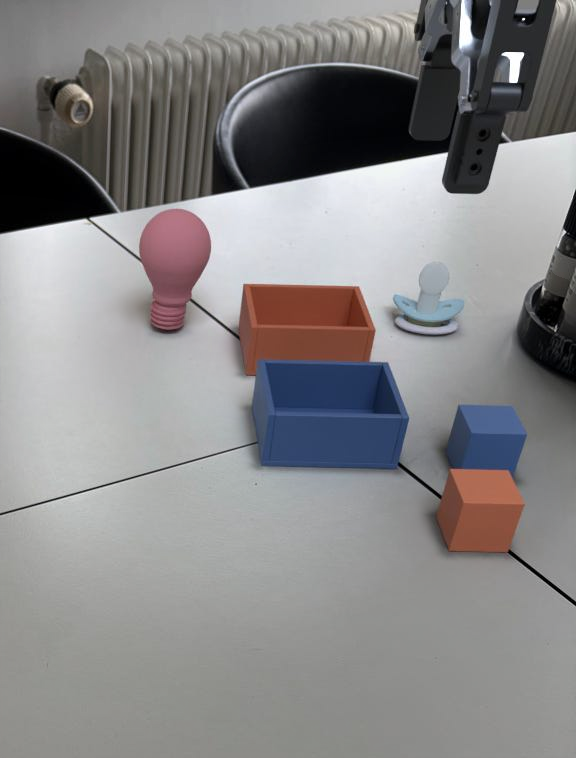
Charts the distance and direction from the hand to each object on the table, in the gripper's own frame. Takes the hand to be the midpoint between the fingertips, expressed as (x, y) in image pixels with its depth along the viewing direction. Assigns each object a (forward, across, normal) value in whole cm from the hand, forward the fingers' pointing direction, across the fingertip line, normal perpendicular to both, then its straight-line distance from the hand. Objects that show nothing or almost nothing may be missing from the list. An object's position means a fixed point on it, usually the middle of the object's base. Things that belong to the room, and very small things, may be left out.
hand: (444, 163), depth 56 cm
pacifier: (+31, +45, -15) cm, 56 cm away
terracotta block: (+30, +8, -11) cm, 33 cm away
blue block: (+30, +18, -14) cm, 38 cm away
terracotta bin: (+30, +38, -1) cm, 49 cm away
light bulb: (+31, +43, +12) cm, 54 cm away
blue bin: (+30, +22, -1) cm, 38 cm away
